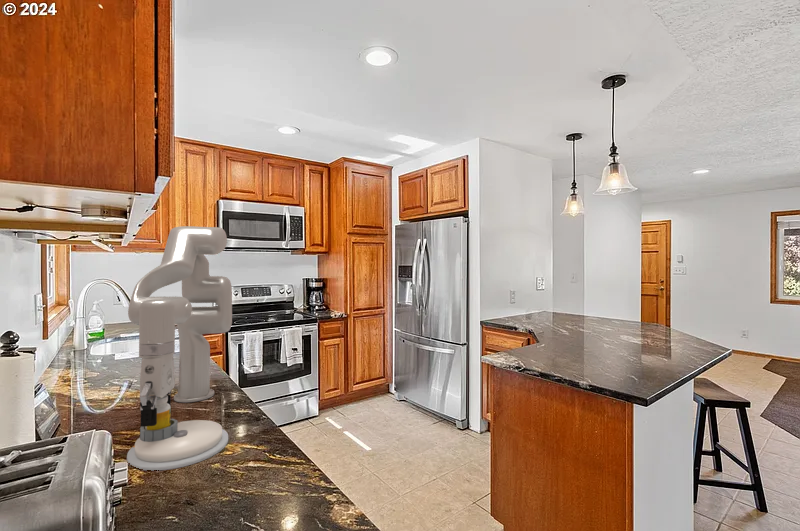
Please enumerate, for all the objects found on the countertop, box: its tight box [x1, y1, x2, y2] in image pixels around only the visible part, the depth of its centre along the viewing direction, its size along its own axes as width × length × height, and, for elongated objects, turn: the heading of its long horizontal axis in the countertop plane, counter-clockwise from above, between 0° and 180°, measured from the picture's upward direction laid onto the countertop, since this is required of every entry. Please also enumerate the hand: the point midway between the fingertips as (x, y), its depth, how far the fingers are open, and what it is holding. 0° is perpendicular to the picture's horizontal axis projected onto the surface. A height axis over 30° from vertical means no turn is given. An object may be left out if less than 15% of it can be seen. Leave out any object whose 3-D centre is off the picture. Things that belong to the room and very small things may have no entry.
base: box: [126, 428, 229, 472], centre depth 96 cm, size 22×22×1 cm
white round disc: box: [134, 418, 223, 462], centre depth 96 cm, size 19×19×4 cm
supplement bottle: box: [145, 395, 172, 430], centre depth 96 cm, size 5×5×10 cm
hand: (156, 417), depth 95 cm, fingers open, 9 cm apart
